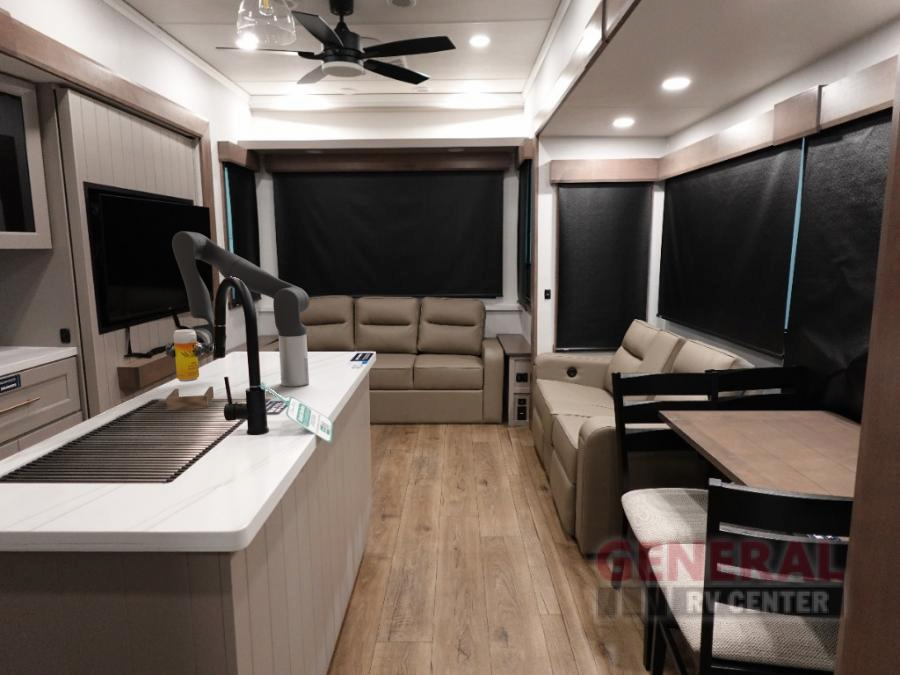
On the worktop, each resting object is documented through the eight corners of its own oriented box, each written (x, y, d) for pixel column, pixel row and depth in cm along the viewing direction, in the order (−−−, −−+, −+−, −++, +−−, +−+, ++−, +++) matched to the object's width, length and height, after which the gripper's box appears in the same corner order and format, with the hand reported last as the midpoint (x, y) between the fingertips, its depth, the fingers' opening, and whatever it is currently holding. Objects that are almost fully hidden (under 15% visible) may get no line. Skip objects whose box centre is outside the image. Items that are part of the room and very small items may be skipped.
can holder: (213, 397, 173) (212, 386, 173) (207, 407, 163) (206, 395, 162) (175, 400, 171) (174, 388, 170) (167, 410, 160) (165, 398, 159)
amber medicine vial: (193, 382, 162) (189, 332, 160) (173, 382, 163) (168, 332, 160) (203, 377, 168) (199, 329, 166) (183, 376, 169) (179, 328, 166)
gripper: (170, 332, 175) (156, 342, 159) (218, 331, 179) (209, 340, 163) (172, 355, 177) (158, 367, 161) (220, 353, 180) (211, 364, 164)
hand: (184, 353), depth 162 cm, fingers closed on amber medicine vial, 6 cm apart
